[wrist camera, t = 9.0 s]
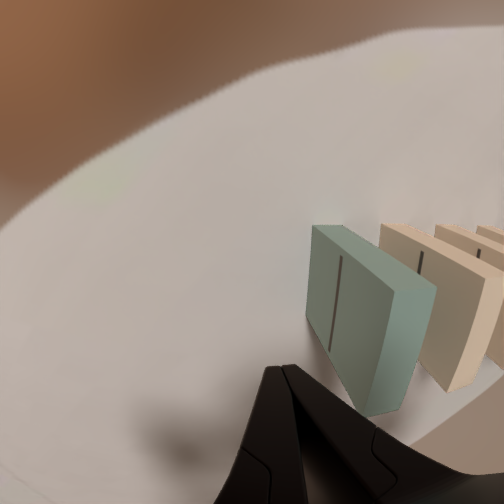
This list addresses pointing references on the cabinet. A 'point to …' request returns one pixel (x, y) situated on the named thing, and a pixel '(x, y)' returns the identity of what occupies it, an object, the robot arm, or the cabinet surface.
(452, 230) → the domino
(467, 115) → the cabinet surface
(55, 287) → the cabinet surface
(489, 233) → the domino
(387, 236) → the domino
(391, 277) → the domino
